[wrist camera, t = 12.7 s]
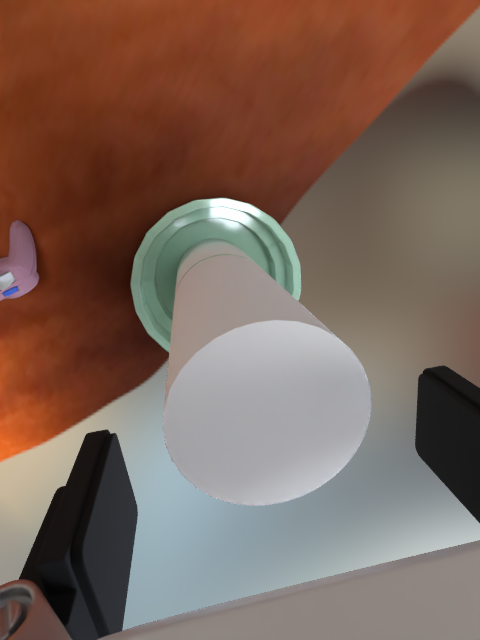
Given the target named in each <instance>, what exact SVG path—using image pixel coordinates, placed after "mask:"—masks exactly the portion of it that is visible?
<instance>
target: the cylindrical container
mask: <svg viewBox="0 0 480 640" xmlns="http://www.w3.org/2000/svg"><path fill="white" fill-rule="evenodd" d="M370 415H371V393H370V386H369V381H368V379H367V376H366V373H365V371H364V368H363V366H362V364H361V363H360V361H359V360H358V359H357V357H356V356H355V354H354V353H353V351H352V350H351V349H350V348H349V347H348V346H347V345H345V344H344V343H343V342H342V341H341V340H340V339H339V338H338V337H337V336H336V335H334V334H333V333H332V332H331V331H330V330H329V329H328V328H327V327H326V326H325V325H324V324H322V323H321V322H320V321H319V320H318V319H317V318H316V317H314V315H313V314H311V313H310V312H309V311H308V310H307V309H306V308H305V307H304V306H303V305H302V304H300V303H299V302H298V301H297V300H296V299H295V298H294V297H293V296H292V295H291V294H289V293H288V292H287V291H286V290H285V289H284V288H283V287H282V286H281V285H280V284H278V283H277V282H276V281H275V280H274V279H273V278H272V277H271V276H270V275H269V274H267V273H266V272H265V271H264V270H263V269H262V268H261V267H260V266H259V265H257V264H256V263H255V262H254V261H253V260H252V259H251V258H250V257H248V256H247V255H246V254H245V253H244V252H243V251H242V250H241V249H239V248H238V247H237V246H236V245H235V244H233V243H231V242H229V241H227V240H224V239H219V238H208V239H204V240H200V241H199V242H197V243H195V244H193V245H192V246H191V247H189V248H188V249H187V250H186V252H185V253H184V254H183V256H182V257H181V259H180V261H179V265H178V268H177V278H176V288H175V299H174V309H173V320H172V330H171V341H170V351H169V362H168V373H167V383H166V395H165V404H164V418H163V419H164V420H163V431H164V438H165V444H166V447H167V449H168V452H169V454H170V457H171V459H172V461H173V463H174V464H175V466H176V467H177V469H178V470H179V471H180V473H181V474H182V475H183V476H184V477H185V478H186V479H187V480H188V481H189V482H190V483H191V484H193V485H194V486H195V487H196V488H198V489H199V490H201V491H203V492H204V493H206V494H208V495H210V496H212V497H214V498H217V499H220V500H223V501H226V502H229V503H235V504H242V505H270V504H276V503H282V502H286V501H289V500H292V499H295V498H298V497H301V496H303V495H305V494H307V493H309V492H311V491H313V490H315V489H317V488H318V487H320V486H322V485H323V484H324V483H326V482H327V481H329V480H330V479H332V478H333V477H334V476H335V475H336V474H337V473H338V472H339V471H340V470H341V469H342V468H343V467H344V466H345V465H346V464H347V463H348V462H349V460H350V459H351V458H352V456H353V455H354V453H355V452H356V451H357V449H358V448H359V446H360V444H361V442H362V439H363V437H364V435H365V433H366V430H367V427H368V423H369V418H370Z"/></svg>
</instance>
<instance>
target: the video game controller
mask: <svg viewBox="0 0 480 640" xmlns="http://www.w3.org/2000/svg"><path fill="white" fill-rule="evenodd" d="M9 236H10V247H9V255H8V257H4V258H1V259H0V300H2V299H12V298H17V297H20V296H22V295H24V294H26V293H28V292H29V291H30V290H32V289H33V288H34V287H35V286H36V284H37V283H38V280H39V275H38V273H37V272H36V269H37V264H36V249H35V244H34V240H33V237H32V234H31V232H30V230H29V228H28V226H26V225H25V224H24V223H23V222H21V221H19V220H16V221H14V222H13V223H12V224H11V227H10V230H9Z"/></svg>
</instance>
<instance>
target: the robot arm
mask: <svg viewBox="0 0 480 640" xmlns="http://www.w3.org/2000/svg"><path fill="white" fill-rule="evenodd" d="M415 440H416V441H415V447H416V450H417V453H418V455H419V456H420V457H421V459H422V460H423V461H424V462H425V463H426V464H427V465H428V466H429V467H430V469H431V470H432V471H433V472H434V473H435V474H436V475H437V476H438V477H439V479H440V480H441V481H442V482H443V483H444V484H445V485H446V486H447V487H448V488H449V489H450V491H451V492H452V493H453V494H454V495H455V496H456V497H457V498H458V500H459V501H460V502H461V503H462V504H463V505H464V506H465V507H466V508H467V509H468V511H469V512H470V513H471V514H472V515H473V516H474V517H475V518H476V520H477V521H478V522H479V523H480V388H479V387H477V386H475V385H474V384H472V383H471V382H469V381H468V380H466V379H465V378H463V377H462V376H460V375H459V374H457V373H456V372H454V371H453V370H451V369H450V368H448V367H446V366H438V367H433V368H427V369H425V370H424V371H423V374H421V375H420V376H419V379H418V400H417V419H416V439H415ZM137 516H138V512H137V504H136V501H135V497H134V493H133V490H132V486H131V483H130V479H129V476H128V472H127V469H126V466H125V462H124V458H123V455H122V451H121V448H120V444H119V440H118V437H117V435H116V433H113V434H110V432H109V431H108V430H102V431H96V432H91V433H88V434H86V436H85V438H84V441H83V443H82V446H81V448H80V451H79V453H78V456H77V458H76V461H75V463H74V466H73V469H72V471H71V473H70V476H69V479H68V481H67V484H66V486H63V487H60V488H59V489H57V491H56V493H55V494H54V497H53V499H52V501H51V504H50V506H49V509H48V511H47V514H46V516H45V518H44V520H43V523H42V525H41V528H40V530H39V532H38V535H37V537H36V540H35V542H34V544H33V547H32V549H31V552H30V554H29V556H28V558H27V561H26V563H25V566H24V568H23V570H22V573H21V575H20V577H19V580H15V581H11V582H8V583H6V584H3V585H1V586H0V640H480V540H479V541H475V542H471V543H467V544H463V545H458V546H454V547H450V548H445V549H442V550H437V551H433V552H428V553H424V554H420V555H416V556H412V557H408V558H404V559H400V560H396V561H392V562H387V563H383V564H379V565H375V566H371V567H366V568H363V569H359V570H354V571H350V572H346V573H342V574H338V575H334V576H330V577H326V578H322V579H317V580H313V581H309V582H306V583H301V584H297V585H293V586H289V587H285V588H281V589H277V590H273V591H270V592H265V593H261V594H257V595H253V596H249V597H245V598H241V599H237V600H233V601H229V602H225V603H221V604H217V605H214V606H209V607H205V608H202V609H198V610H194V611H191V612H187V613H183V614H180V615H176V616H172V617H168V618H165V619H161V620H157V621H153V622H150V623H146V624H143V625H139V626H136V627H133V628H130V629H127V630H124V631H122V627H123V619H124V612H125V605H126V598H127V591H128V583H129V575H130V568H131V561H132V554H133V546H134V539H135V532H136V524H137Z"/></svg>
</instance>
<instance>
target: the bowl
mask: <svg viewBox="0 0 480 640" xmlns="http://www.w3.org/2000/svg"><path fill="white" fill-rule="evenodd" d="M208 238H219V239H224V240H227V241H229V242H231V243H233V244H235V245H236V246H237V247H238V248H239V249H241V250H242V251H243V252H244V253H245V254H246V255H247V256H248V257H250V258H251V259H252V260H253V261H254V262H255V263H256V264H257V265H259V266H260V267H261V268H262V269H263V270H264V271H265V272H266V273H267V274H269V275H270V276H271V277H272V278H273V279H274V280H275V281H276V282H277V283H278V284H280V285H281V286H282V287H283V288H284V289H285V290H286V291H287V292H288V293H289V294H291V295H292V296H293V297H294V298H295V299H296V300H297V301H298V300H299V297H300V293H301V270H300V263H299V260H298V257H297V255H296V252H295V249H294V246H293V243H292V241H291V239H290V238H289V237H288V235H287V234H286V233H285V232H284V230H283V229H282V228H281V227H280V225H279V224H278V223H277V222H276V220H274V219H273V218H272V217H270V216H269V215H267V214H266V213H264V212H263V211H261V210H259V209H258V208H256V207H255V206H253V205H251V204H249V203H244V202H240V201H236V200H232V199H228V198H208V199H198V200H192V201H190V202H188V203H185V204H183V205H181V206H179V207H177V208H174V209H172V210H171V211H169V212H168V213H167V214H166V215H165V216H164V217H162V218H161V219H160V220H159V221H158V222H157V223H156V224H155V225H154V226H153V227H152V228H151V229H150V230H149V231H148V232H147V233H146V235H145V237H144V239H143V241H142V243H141V245H140V247H139V249H138V251H137V253H136V255H135V258H134V262H133V269H132V276H131V283H130V284H131V285H130V286H131V291H132V296H133V302H134V307H135V311H136V313H137V315H138V317H139V319H140V320H141V322H142V324H143V326H144V327H145V329H146V331H147V333H148V334H149V335H150V336H151V337H152V338H153V339H154V340H155V341H156V342H158V343H159V344H160V345H161V346H162V347H163V348H164V349H165V350H166V351H168V352H169V351H170V341H171V330H172V320H173V309H174V299H175V288H176V278H177V268H178V265H179V261H180V259H181V257H182V256H183V254H184V253H185V252H186V250H187V249H188V248H189V247H191V246H192V245H193V244H195V243H197V242H199V241H200V240H204V239H208Z"/></svg>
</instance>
